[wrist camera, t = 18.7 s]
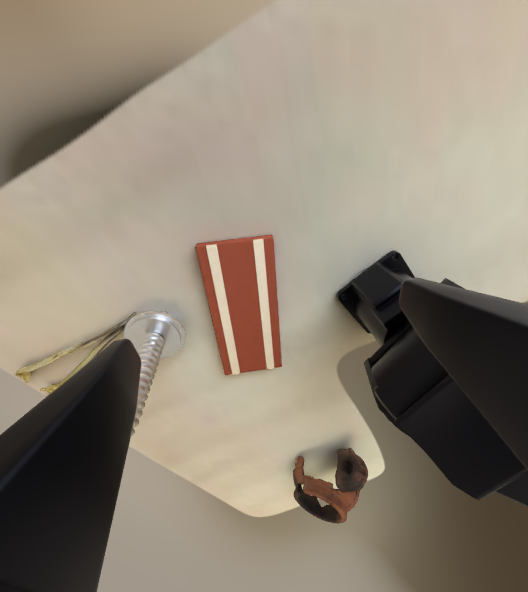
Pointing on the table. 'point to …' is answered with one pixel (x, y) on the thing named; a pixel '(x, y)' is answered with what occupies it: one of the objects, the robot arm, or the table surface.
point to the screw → (152, 347)
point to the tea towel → (243, 301)
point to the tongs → (108, 336)
